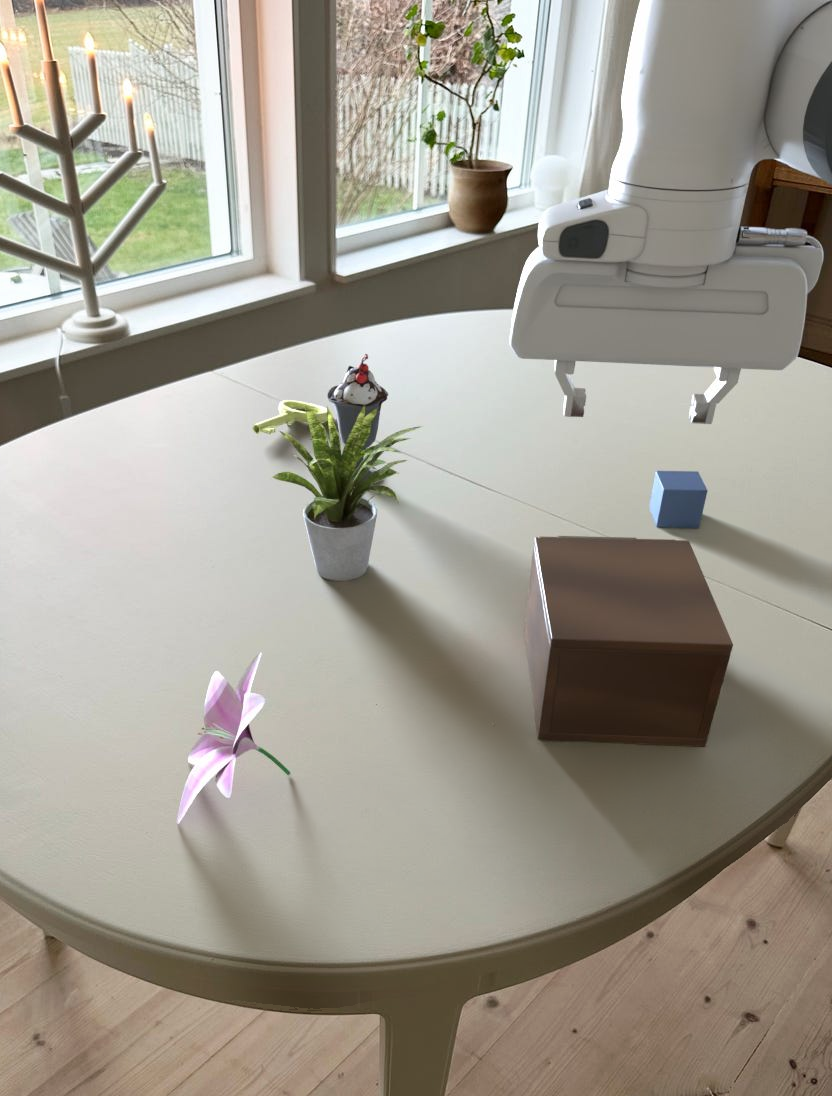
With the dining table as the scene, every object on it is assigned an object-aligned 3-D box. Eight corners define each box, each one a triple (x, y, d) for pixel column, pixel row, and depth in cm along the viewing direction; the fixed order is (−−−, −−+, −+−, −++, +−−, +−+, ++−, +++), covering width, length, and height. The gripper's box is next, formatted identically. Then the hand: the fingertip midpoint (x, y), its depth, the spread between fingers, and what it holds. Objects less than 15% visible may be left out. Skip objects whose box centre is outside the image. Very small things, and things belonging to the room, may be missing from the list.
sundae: (371, 495, 106) (370, 363, 98) (319, 483, 109) (314, 353, 100) (398, 472, 111) (400, 344, 102) (347, 460, 114) (345, 335, 105)
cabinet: (524, 630, 85) (534, 536, 79) (668, 635, 84) (689, 540, 78) (537, 740, 73) (551, 639, 67) (705, 746, 72) (733, 644, 67)
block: (690, 508, 103) (698, 471, 100) (699, 528, 99) (707, 490, 97) (648, 507, 103) (655, 470, 101) (656, 527, 100) (663, 489, 97)
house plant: (405, 621, 86) (409, 454, 77) (257, 607, 88) (243, 443, 79) (424, 543, 98) (429, 389, 88) (292, 532, 100) (284, 381, 90)
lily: (236, 716, 77) (165, 646, 71) (359, 706, 71) (292, 627, 65) (185, 852, 71) (101, 786, 65) (315, 853, 64) (236, 781, 58)
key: (251, 442, 118) (249, 425, 117) (285, 405, 128) (284, 390, 127) (305, 448, 117) (305, 432, 115) (336, 411, 126) (336, 396, 125)
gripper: (819, 218, 66) (769, 409, 74) (520, 210, 68) (503, 395, 77) (843, 240, 61) (787, 442, 69) (520, 231, 63) (502, 426, 71)
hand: (635, 417), depth 73 cm, fingers open, 8 cm apart
